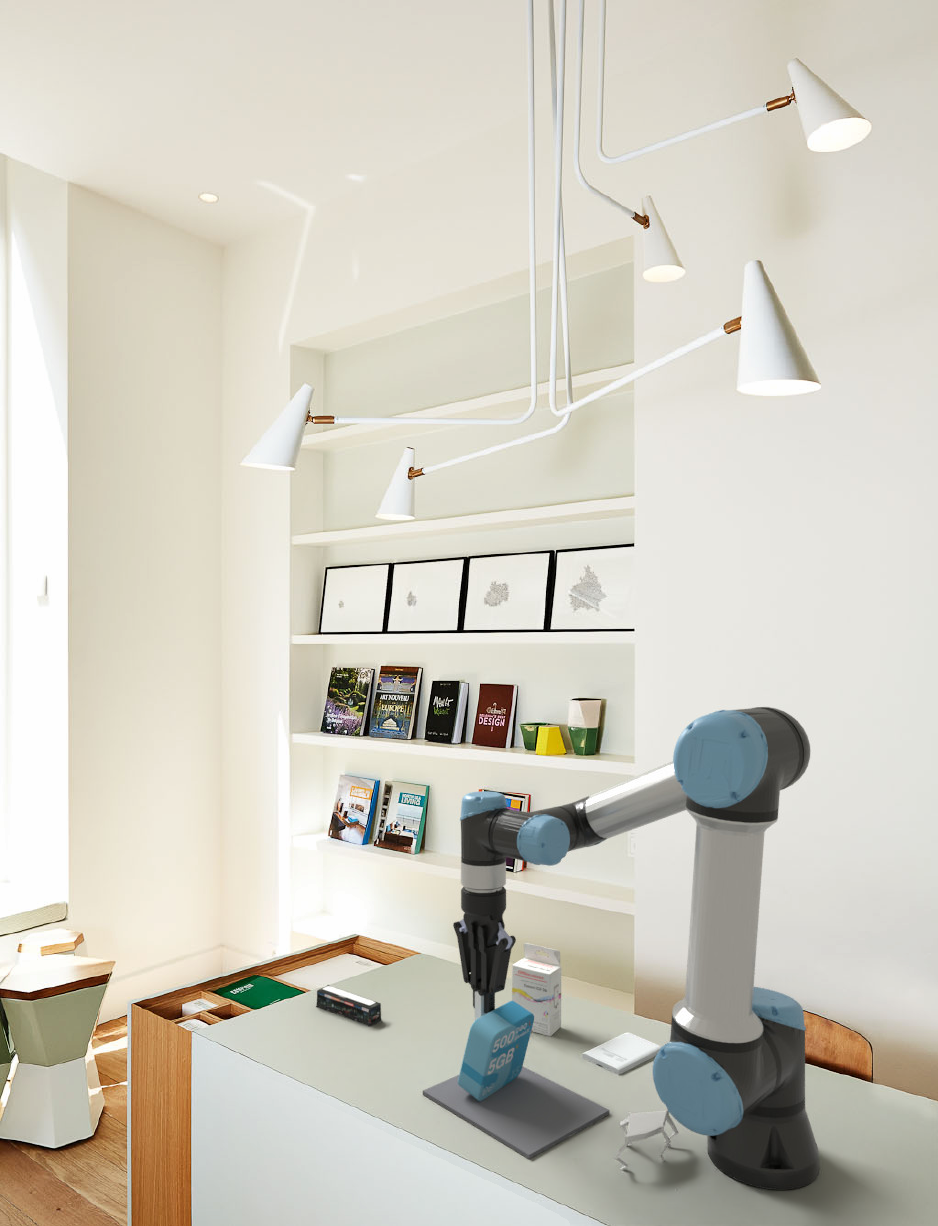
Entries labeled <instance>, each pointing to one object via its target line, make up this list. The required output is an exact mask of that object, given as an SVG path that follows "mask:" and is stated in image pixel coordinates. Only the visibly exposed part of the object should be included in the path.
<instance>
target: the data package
mask: <svg viewBox="0 0 938 1226" xmlns="http://www.w3.org/2000/svg"><path fill="white" fill-rule="evenodd" d="M533 1022H534V1015H533V1014H532V1013H531V1012H529V1011H528V1010H526V1009H525V1008H523V1007H522V1006H520V1005H519V1004H517V1003H516V1002H514V1001H512V1000H509V1001H508V1002H506V1003H504V1004H501V1005H500V1006H498V1007H497V1008H496V1007H495V1010H493V1011H491V1012H489V1013H487V1014H485V1015H483V1016H482V1017H480V1018H478V1019H477V1020H475V1019H474V1021H473V1023H472V1024H471V1027H470V1029H469V1033H468V1037H467V1040H466V1045H465V1049H464V1054H463V1057H462V1063H461V1067H460V1070H459V1074H458V1075H459V1078H458V1085H459V1086H460V1087H462V1088H463V1089H464V1090H465V1091H467V1092H468V1093H469V1094H471V1095H472V1096H473V1097H474V1098H476V1099H477V1100H478V1101H482V1100H484V1099H486V1098H487V1097H489V1096H490V1095H492V1094H493V1093H495V1092H496V1091H498V1090H499V1089H501V1088H502V1087H504V1086H505V1085H507V1084H508V1083H510V1082H511V1081H513V1080H514V1079H516V1078H517V1077H518V1075H519V1074H520V1072H521V1070H522V1066H523V1067H524V1061H525V1057H526V1053H527V1051H528V1045H529V1041H530V1037H531V1034H532V1031H531V1030H532V1026H533Z"/></svg>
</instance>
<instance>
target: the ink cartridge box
mask: <svg viewBox="0 0 938 1226" xmlns="http://www.w3.org/2000/svg"><path fill="white" fill-rule="evenodd" d="M537 952H543V953H544V954H547V955H548V956H547V955H542V954H537ZM523 956H524V957H522V958H521V959H519V960H518V961H516V962H515V963H513V964H512V969H511V974H512V975H511V1001H514V1002H516V1003H517V1004H519V1005H520V1006H522V1007H523V1008H525V1009H526V1010H528V1011H529V1012H531V1013H532V1014H533V1015H534V1022H533V1026H532V1030H531V1032H533V1033H536V1034H539V1035H543V1036H548V1037H551V1036H552V1035H553V1034H555V1033H556V1032H557V1031H558V1030H560V1029H561V1026H562V966H561V952H560V950H558V949H555V948H551V947H548V946H546V947H545V946H542V945H537V944H533V943H528V942H524V943H523Z"/></svg>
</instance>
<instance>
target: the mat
mask: <svg viewBox="0 0 938 1226" xmlns="http://www.w3.org/2000/svg"><path fill="white" fill-rule="evenodd" d="M458 1078H459V1074H458V1075H455V1076H453V1077H451V1078H448V1079H446V1080H444V1081H442V1082H438V1083H437V1084H434V1085H432V1086H430V1087H428V1088H425V1089H423V1090H422V1095H423V1096H424V1097H426V1098H428V1099H429V1100H431V1101H433V1102H434V1103H435V1104H438V1105H440V1106H441V1107H443V1108H444V1109H446V1110H447V1111H449V1112H451V1113H452V1114H454V1115H456V1116H457V1117H459V1118H461V1119H462V1120H464V1121H465V1122H467V1123H468V1124H470V1125H472V1126H474V1127H475V1128H477V1129H479V1130H480V1131H481V1132H484V1133H486V1134H487V1135H489V1136H490V1137H492V1138H493V1139H495V1140H497V1142H500V1143H502V1144H503V1145H504V1146H507V1147H509V1148H510V1149H512V1150H513V1151H515V1152H517V1153H518V1154H520V1155H522V1156H523V1157H525V1158H526V1159H528V1160H531V1159H532V1158H533V1157H536V1156H537V1155H539V1154H541V1153H543V1152H544V1151H547V1150H548V1149H550V1148H552V1147H553V1146H556V1145H557V1144H559V1143H561V1142H562V1141H564V1140H565V1139H568V1138H570V1137H571V1136H573V1135H575V1134H576V1133H579V1132H580V1131H581V1130H583V1129H585V1128H587V1127H589V1126H590V1125H592V1124H594V1123H596V1122H597V1121H600V1120H601V1119H603V1118H604V1117H607V1116H608V1115H610V1114H611V1113H610V1109H608V1108H606V1107H605V1106H603V1105H600V1104H598V1102H597V1103H596V1102H595V1101H593V1100H590V1099H589V1098H586V1097H585V1096H582V1095H581V1094H579V1093H577V1092H575V1091H573V1090H571V1089H568V1088H567V1087H565V1086H563V1085H561V1084H559V1083H558V1082H555V1081H553V1080H551V1079H549V1078H547V1077H545V1076H543V1075H541V1074H539V1073H538V1072H535V1071H533V1070H531V1069H529V1068H527V1067H525V1066H524V1065H523V1066H522V1070H521V1072H520V1074H519V1075H518V1077H517V1078H516V1079H514V1080H513V1081H511V1082H510V1083H508V1084H507V1085H505V1086H504V1087H502V1088H501V1089H499V1090H498V1091H496V1092H495V1093H493V1094H492V1095H490V1096H489V1097H487V1098H486V1099H484V1100H482V1101H478V1100H477V1099H476V1098H474V1097H473V1096H472V1095H471V1094H469V1093H468V1092H467V1091H465V1090H464V1089H463V1088H462V1087H460V1086H459V1085H458Z"/></svg>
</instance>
